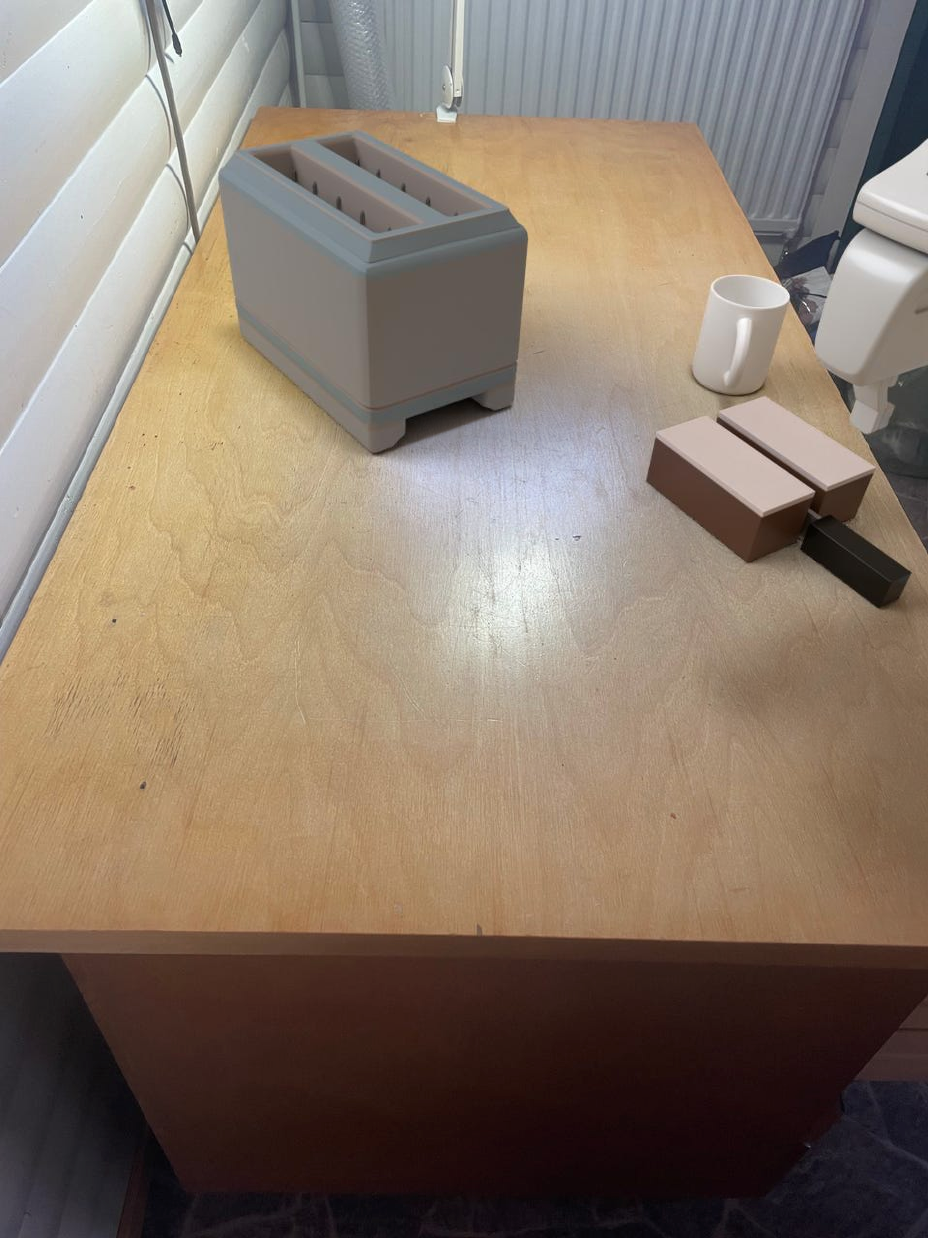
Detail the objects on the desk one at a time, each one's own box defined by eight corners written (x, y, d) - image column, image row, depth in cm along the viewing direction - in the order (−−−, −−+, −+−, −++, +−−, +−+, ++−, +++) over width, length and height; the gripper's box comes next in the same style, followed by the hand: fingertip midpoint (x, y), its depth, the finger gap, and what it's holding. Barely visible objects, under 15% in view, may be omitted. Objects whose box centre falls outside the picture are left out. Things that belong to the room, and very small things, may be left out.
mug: (763, 419, 98) (791, 329, 91) (686, 407, 99) (707, 316, 92) (764, 366, 106) (789, 280, 99) (692, 355, 107) (712, 269, 100)
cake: (855, 516, 86) (876, 467, 82) (746, 563, 80) (763, 511, 76) (750, 443, 94) (765, 395, 90) (645, 480, 89) (656, 431, 85)
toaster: (357, 290, 117) (350, 114, 102) (519, 406, 98) (537, 209, 83) (222, 325, 108) (194, 138, 94) (370, 459, 89) (362, 251, 75)
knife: (899, 598, 78) (912, 572, 76) (878, 609, 77) (891, 582, 75) (722, 467, 91) (729, 441, 89) (702, 474, 90) (709, 448, 88)
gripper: (1073, 142, 55) (978, 353, 65) (836, 192, 47) (767, 424, 57) (1176, 173, 51) (1059, 393, 61) (936, 233, 44) (845, 475, 53)
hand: (916, 409), depth 59 cm, fingers open, 8 cm apart
